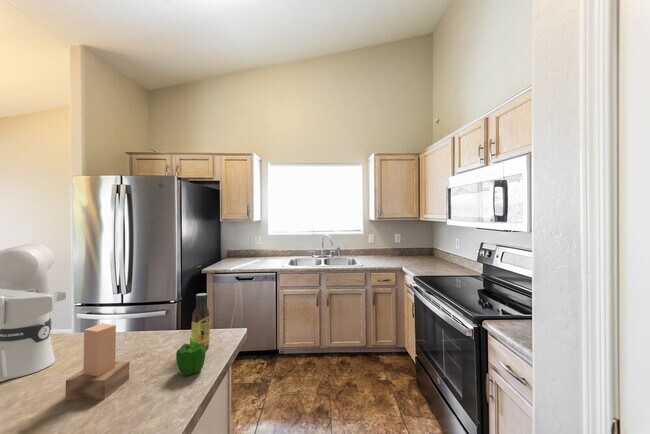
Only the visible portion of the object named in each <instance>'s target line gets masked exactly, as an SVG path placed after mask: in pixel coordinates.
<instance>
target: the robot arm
mask: <svg viewBox="0 0 650 434" xmlns="http://www.w3.org/2000/svg"><path fill="white" fill-rule="evenodd" d="M54 255H55V254H54V253H53V251H52V250H51V249H50V248H49V247H48V246H46V245H43V244H41V243H27V244H26V243H25V244H22V245H18V246H12V247H8V248H3V249H0V383H1V382H4V381H7V380H12V379H16V378H19V377H20V378H21V377H23V376H24V377H25V376H28V375H30V374H33V373H37V372H39V371H42V370H44V369H46V368H48V367H50V366H51V365H53V364H54V363H55V361H56V357H55V354H54V353H55V352H54V351H53V346H52V339H51V331H52V319H51V318H50V313H51V312H52V311H54V309H55V304H56V303H57V302H60V301H61V302H62V301H64V300H65V299H66V297H67V293H66V292H64V291H56V292H53V293H50V292H49V284H48V275H47V272H48V271H49V269H51V267H52V266H53V264H54V262H55V256H54Z"/></svg>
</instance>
